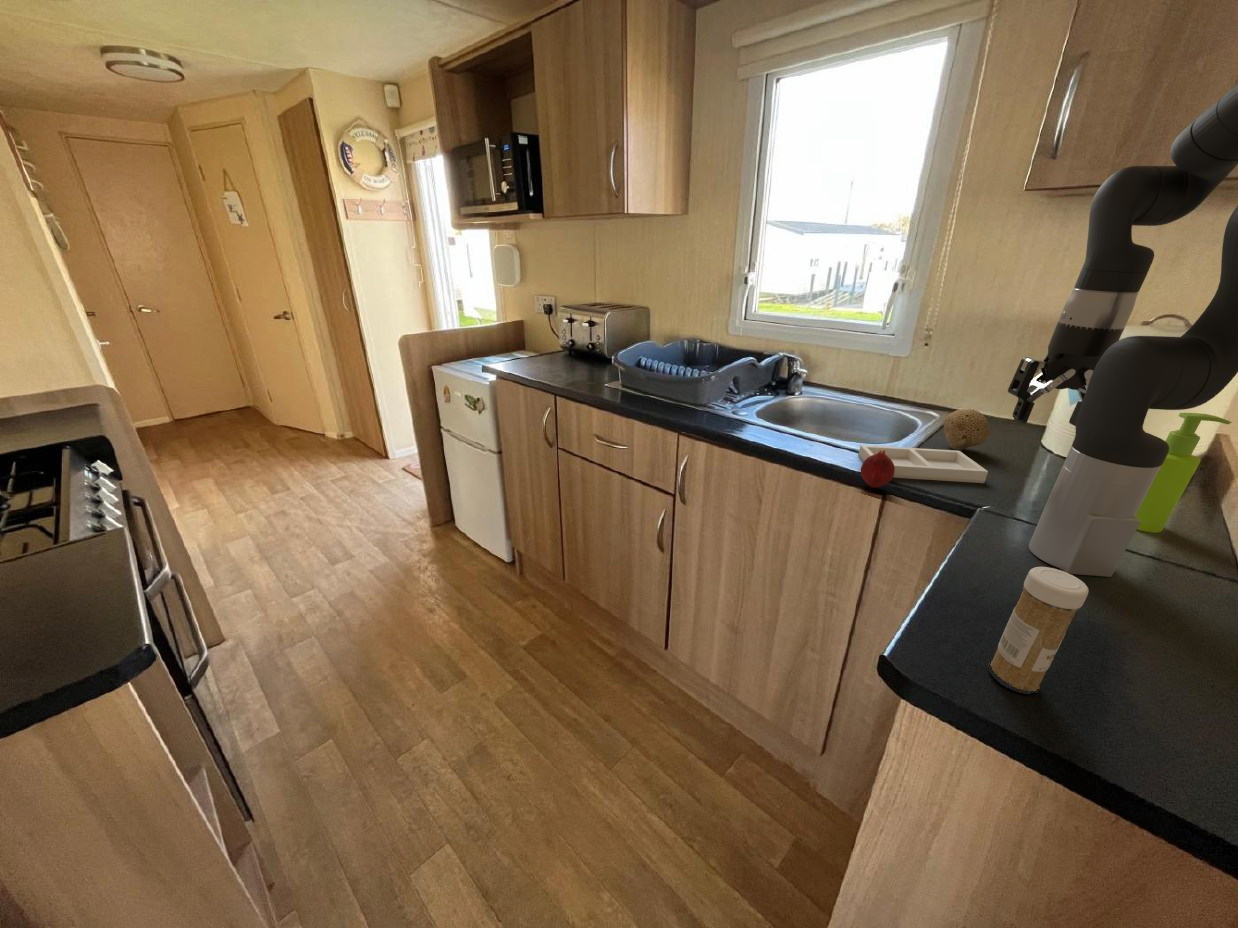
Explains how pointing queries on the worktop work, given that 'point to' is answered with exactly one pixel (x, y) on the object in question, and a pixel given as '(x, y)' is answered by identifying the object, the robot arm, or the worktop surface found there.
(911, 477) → the well holder
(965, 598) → the worktop surface
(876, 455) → the onion
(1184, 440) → the soap dispenser
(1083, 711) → the worktop surface
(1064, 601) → the sprinkles bottle
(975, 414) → the natural sponge
